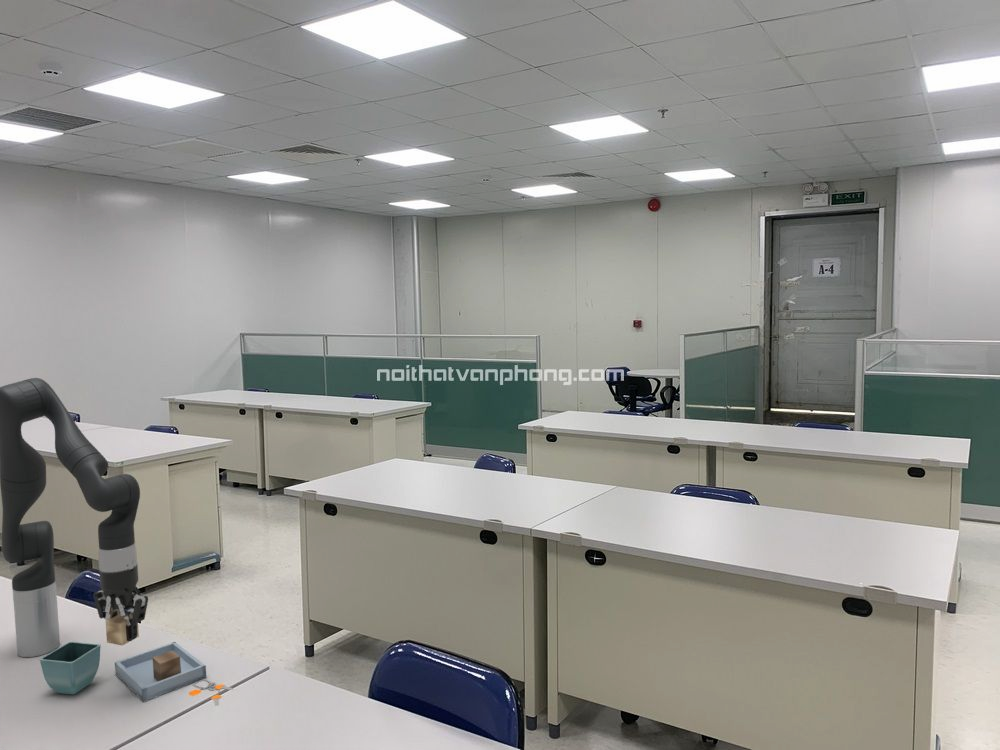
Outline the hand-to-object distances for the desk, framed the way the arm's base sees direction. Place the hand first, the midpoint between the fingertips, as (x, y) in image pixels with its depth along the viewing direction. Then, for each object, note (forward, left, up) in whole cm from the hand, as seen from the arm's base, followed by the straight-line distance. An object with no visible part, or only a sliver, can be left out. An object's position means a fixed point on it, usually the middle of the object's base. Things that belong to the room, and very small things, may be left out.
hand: (123, 637), depth 157 cm
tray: (-2, +8, -13) cm, 15 cm away
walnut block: (+2, +8, -12) cm, 15 cm away
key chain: (+14, +13, -14) cm, 23 cm away
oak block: (0, 0, 0) cm, 0 cm away
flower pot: (-11, -8, -13) cm, 19 cm away
